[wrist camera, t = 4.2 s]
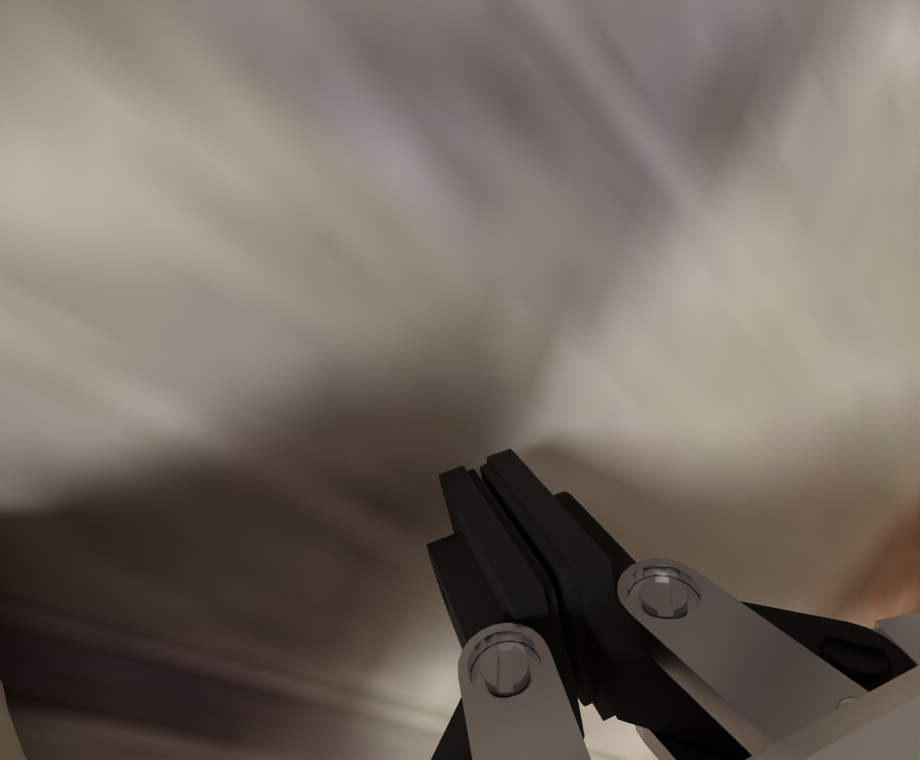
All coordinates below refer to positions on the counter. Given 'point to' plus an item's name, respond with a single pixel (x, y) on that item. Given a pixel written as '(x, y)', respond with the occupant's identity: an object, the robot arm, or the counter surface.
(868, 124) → the counter surface
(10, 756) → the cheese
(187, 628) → the counter surface
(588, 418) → the counter surface
